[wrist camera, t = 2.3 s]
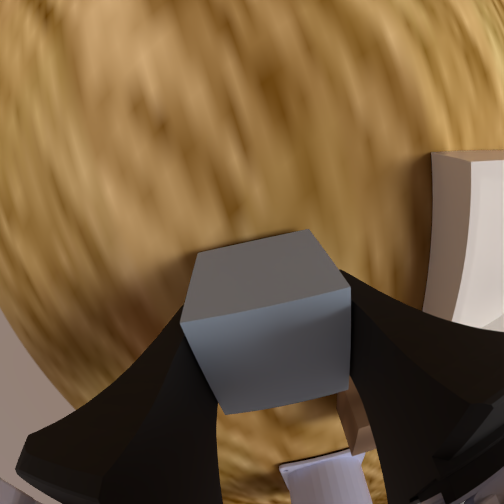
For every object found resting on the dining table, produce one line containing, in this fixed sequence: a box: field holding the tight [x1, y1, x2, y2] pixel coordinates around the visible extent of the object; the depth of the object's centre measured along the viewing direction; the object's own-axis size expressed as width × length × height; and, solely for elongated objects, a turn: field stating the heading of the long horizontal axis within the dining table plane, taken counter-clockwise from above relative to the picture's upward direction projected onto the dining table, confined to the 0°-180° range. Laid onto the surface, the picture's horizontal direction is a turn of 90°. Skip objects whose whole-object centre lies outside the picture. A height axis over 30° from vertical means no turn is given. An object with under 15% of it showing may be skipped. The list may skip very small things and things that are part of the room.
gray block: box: [180, 229, 351, 415], centre depth 9 cm, size 4×4×4 cm
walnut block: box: [337, 375, 376, 456], centre depth 13 cm, size 4×4×4 cm
